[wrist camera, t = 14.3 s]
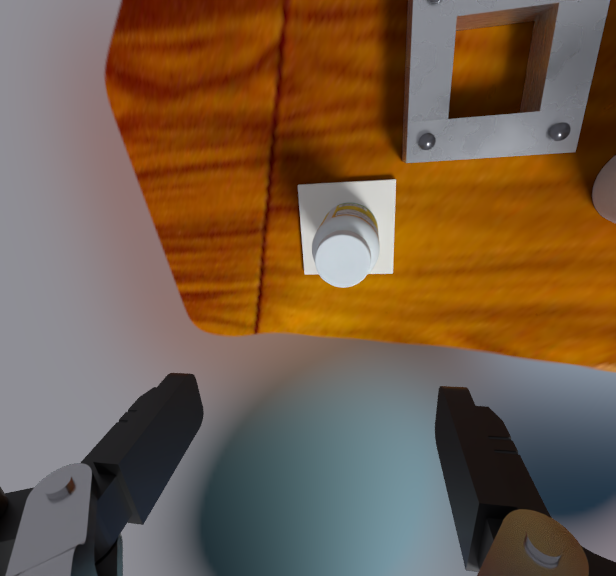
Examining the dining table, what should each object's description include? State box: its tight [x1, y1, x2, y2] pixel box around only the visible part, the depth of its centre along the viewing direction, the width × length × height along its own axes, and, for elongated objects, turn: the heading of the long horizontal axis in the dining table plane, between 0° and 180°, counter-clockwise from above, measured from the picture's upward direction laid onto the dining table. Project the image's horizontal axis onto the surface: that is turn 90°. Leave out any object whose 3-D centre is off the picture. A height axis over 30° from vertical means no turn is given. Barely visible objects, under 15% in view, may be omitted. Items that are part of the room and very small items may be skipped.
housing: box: [402, 0, 610, 163], centre depth 24 cm, size 12×12×4 cm
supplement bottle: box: [312, 202, 380, 287], centre depth 28 cm, size 5×5×10 cm
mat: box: [298, 179, 396, 274], centre depth 32 cm, size 9×9×1 cm
